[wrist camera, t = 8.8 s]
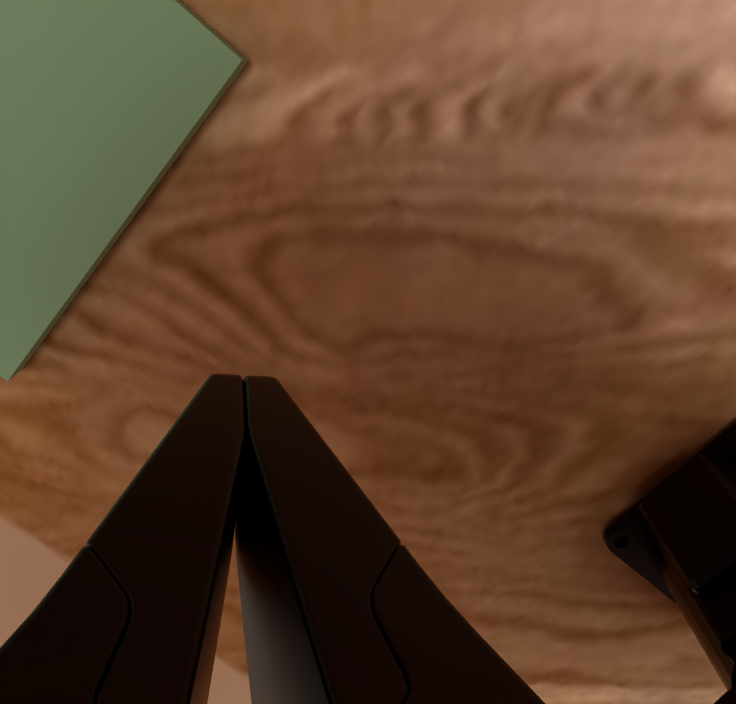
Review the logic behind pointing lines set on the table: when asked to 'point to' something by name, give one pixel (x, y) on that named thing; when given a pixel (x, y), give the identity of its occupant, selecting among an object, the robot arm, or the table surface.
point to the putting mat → (89, 139)
